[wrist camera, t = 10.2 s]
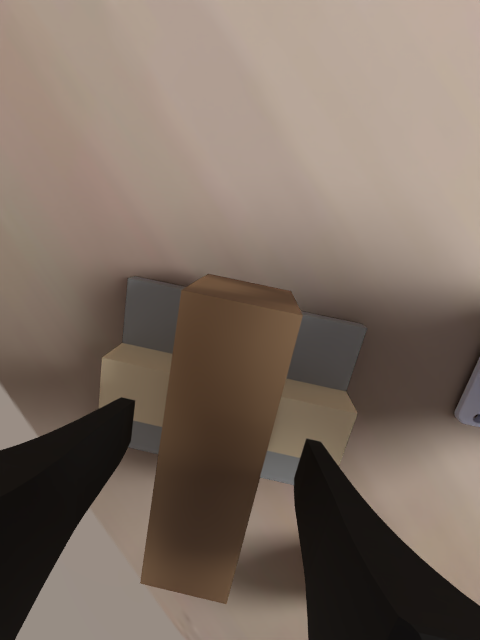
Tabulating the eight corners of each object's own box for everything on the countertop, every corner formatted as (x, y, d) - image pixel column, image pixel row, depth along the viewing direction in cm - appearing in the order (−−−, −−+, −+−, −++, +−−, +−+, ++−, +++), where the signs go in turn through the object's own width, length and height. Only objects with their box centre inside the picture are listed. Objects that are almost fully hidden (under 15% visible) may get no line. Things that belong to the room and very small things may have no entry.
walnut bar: (291, 291, 12) (302, 315, 8) (236, 512, 15) (226, 604, 12) (208, 273, 12) (181, 290, 8) (171, 497, 15) (140, 583, 12)
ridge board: (362, 323, 15) (383, 342, 12) (311, 478, 18) (319, 521, 15) (134, 276, 15) (107, 283, 13) (119, 435, 18) (94, 469, 15)
